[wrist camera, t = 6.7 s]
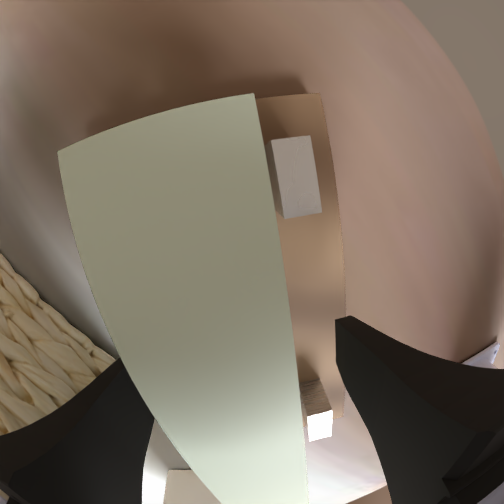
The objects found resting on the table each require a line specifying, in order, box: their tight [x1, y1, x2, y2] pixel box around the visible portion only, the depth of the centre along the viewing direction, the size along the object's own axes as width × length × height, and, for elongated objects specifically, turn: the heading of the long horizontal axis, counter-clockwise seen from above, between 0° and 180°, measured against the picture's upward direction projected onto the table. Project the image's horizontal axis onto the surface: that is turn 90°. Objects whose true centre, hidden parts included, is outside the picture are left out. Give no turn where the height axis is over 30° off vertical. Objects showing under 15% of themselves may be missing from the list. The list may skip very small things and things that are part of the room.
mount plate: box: [255, 93, 346, 427], centre depth 13 cm, size 18×10×1 cm, turn 10°
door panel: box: [57, 93, 309, 504], centre depth 9 cm, size 14×3×7 cm, turn 10°
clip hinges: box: [264, 135, 332, 441], centre depth 11 cm, size 14×7×2 cm, turn 10°
